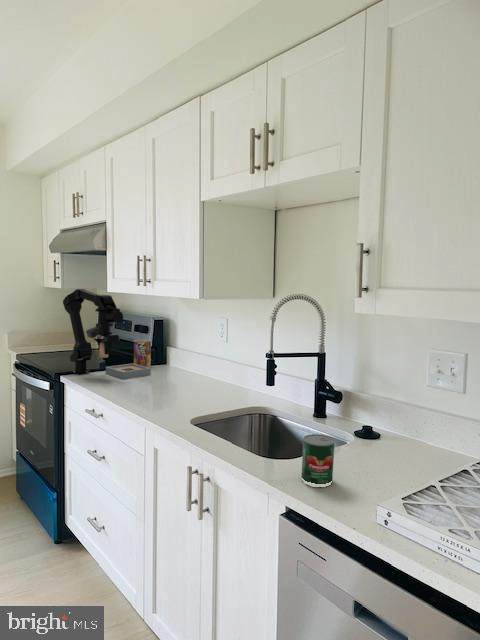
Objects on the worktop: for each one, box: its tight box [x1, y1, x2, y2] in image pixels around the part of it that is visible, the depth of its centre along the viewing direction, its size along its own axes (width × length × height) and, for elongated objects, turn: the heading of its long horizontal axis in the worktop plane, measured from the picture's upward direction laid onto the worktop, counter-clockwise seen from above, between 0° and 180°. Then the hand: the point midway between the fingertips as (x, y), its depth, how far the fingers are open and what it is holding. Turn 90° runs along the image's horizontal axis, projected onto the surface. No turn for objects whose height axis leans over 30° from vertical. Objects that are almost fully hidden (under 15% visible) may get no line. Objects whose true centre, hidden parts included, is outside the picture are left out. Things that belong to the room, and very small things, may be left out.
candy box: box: [133, 339, 152, 368], centre depth 256 cm, size 9×4×15 cm, turn 99°
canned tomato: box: [301, 433, 336, 484], centre depth 120 cm, size 8×8×11 cm
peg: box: [99, 342, 109, 359], centre depth 227 cm, size 4×4×7 cm
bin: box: [105, 363, 152, 380], centre depth 239 cm, size 16×16×4 cm
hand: (104, 353), depth 227 cm, fingers closed on peg, 4 cm apart
